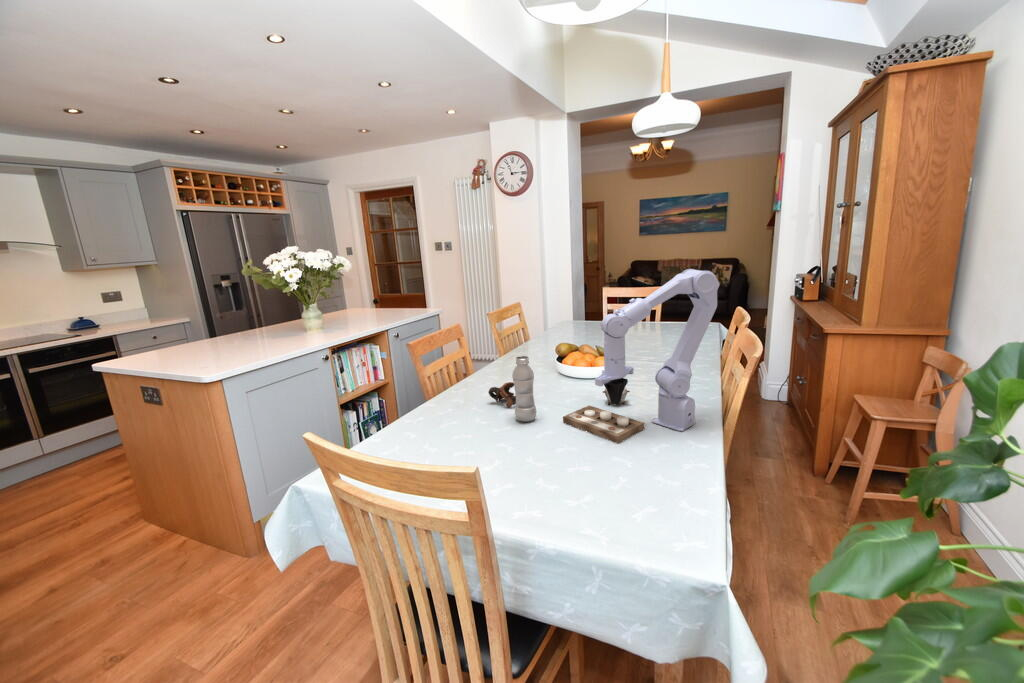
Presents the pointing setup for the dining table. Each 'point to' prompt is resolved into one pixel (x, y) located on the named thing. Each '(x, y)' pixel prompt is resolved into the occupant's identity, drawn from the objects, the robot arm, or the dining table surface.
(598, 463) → the dining table surface
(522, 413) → the plastic bottle
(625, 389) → the game die
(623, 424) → the button
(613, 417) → the button board
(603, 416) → the button middle
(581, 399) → the dining table surface
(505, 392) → the dark brown twisted loops
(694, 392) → the dining table surface
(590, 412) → the button
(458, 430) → the dining table surface
